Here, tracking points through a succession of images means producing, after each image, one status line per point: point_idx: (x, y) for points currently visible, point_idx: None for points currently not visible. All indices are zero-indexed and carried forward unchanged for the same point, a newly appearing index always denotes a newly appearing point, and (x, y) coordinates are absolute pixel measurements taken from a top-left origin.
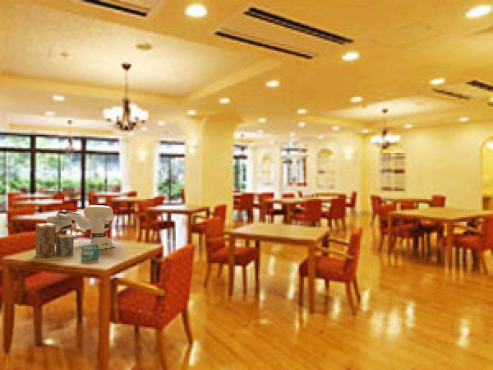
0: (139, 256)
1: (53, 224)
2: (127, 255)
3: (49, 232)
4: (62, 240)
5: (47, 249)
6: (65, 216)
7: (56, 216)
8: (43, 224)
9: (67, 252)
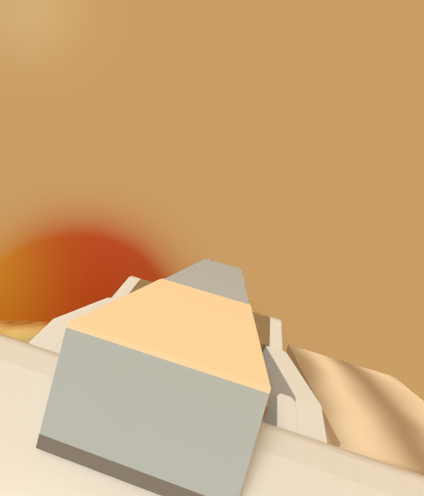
0: (33, 321)
1: (303, 360)
2: (25, 341)
3: None
4: None
5: None
6: (238, 268)
7: (292, 377)
8: (399, 407)
9: None
